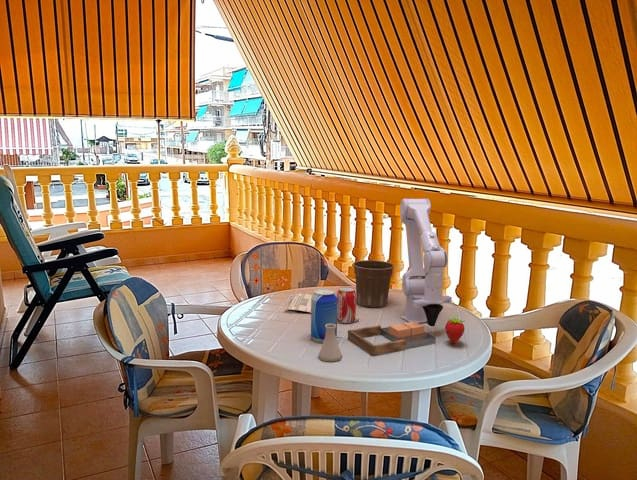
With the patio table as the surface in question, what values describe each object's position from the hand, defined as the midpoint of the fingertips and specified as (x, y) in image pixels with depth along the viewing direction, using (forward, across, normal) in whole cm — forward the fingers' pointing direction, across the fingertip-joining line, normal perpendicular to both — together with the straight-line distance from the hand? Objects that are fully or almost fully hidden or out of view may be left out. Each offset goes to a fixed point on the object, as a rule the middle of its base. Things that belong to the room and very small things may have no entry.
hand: (431, 325), depth 171 cm
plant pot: (+3, 0, +37) cm, 37 cm away
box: (+3, -21, 0) cm, 22 cm away
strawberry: (+3, +1, -10) cm, 11 cm away
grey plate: (+3, -10, 0) cm, 10 cm away
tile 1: (+1, -13, 0) cm, 13 cm away
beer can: (+3, -35, +11) cm, 37 cm away
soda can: (+3, -20, +23) cm, 30 cm away
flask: (+3, -40, -3) cm, 40 cm away
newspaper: (+4, -27, +47) cm, 54 cm away
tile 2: (+1, -7, 0) cm, 7 cm away
